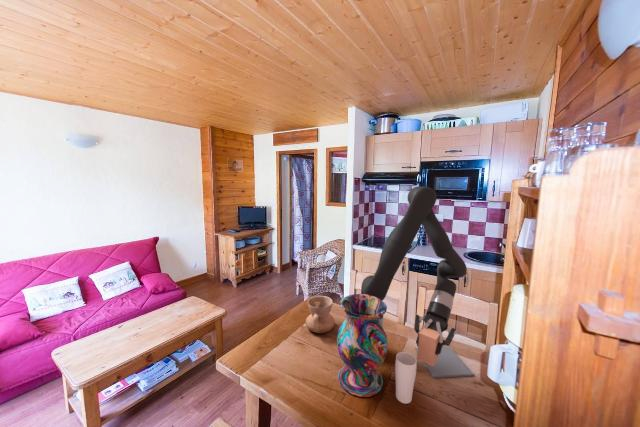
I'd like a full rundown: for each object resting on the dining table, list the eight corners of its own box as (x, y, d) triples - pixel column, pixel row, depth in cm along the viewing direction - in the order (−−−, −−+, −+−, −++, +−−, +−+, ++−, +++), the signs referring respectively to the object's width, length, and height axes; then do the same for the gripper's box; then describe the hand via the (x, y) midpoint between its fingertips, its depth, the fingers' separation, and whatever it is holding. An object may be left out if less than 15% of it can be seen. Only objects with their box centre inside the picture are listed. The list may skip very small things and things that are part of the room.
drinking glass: (390, 390, 90) (392, 351, 88) (408, 389, 91) (411, 351, 88) (397, 407, 83) (400, 366, 81) (417, 406, 84) (420, 365, 82)
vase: (371, 410, 82) (376, 324, 78) (326, 382, 93) (327, 305, 89) (393, 375, 97) (397, 302, 92) (351, 355, 108) (353, 288, 103)
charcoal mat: (433, 377, 96) (433, 375, 96) (414, 349, 112) (415, 347, 112) (473, 376, 97) (473, 374, 97) (449, 348, 113) (449, 346, 113)
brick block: (433, 366, 86) (436, 339, 85) (417, 358, 90) (419, 332, 88) (438, 358, 90) (440, 332, 89) (422, 351, 94) (424, 326, 93)
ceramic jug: (312, 316, 137) (311, 291, 135) (338, 320, 133) (338, 295, 131) (299, 336, 120) (299, 308, 118) (329, 342, 116) (329, 313, 114)
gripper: (419, 295, 98) (404, 338, 90) (460, 308, 88) (448, 357, 81) (422, 303, 102) (409, 344, 95) (462, 316, 93) (450, 363, 86)
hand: (427, 350), depth 88 cm, fingers closed on brick block, 5 cm apart
